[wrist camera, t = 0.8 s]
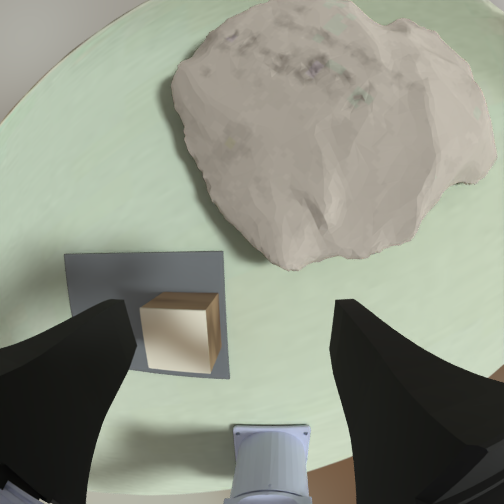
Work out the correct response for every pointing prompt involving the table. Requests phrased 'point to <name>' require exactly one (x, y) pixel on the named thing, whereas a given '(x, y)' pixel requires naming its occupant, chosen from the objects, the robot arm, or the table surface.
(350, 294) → the table surface
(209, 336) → the cube
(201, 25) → the table surface
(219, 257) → the mat
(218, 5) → the table surface
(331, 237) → the rock
